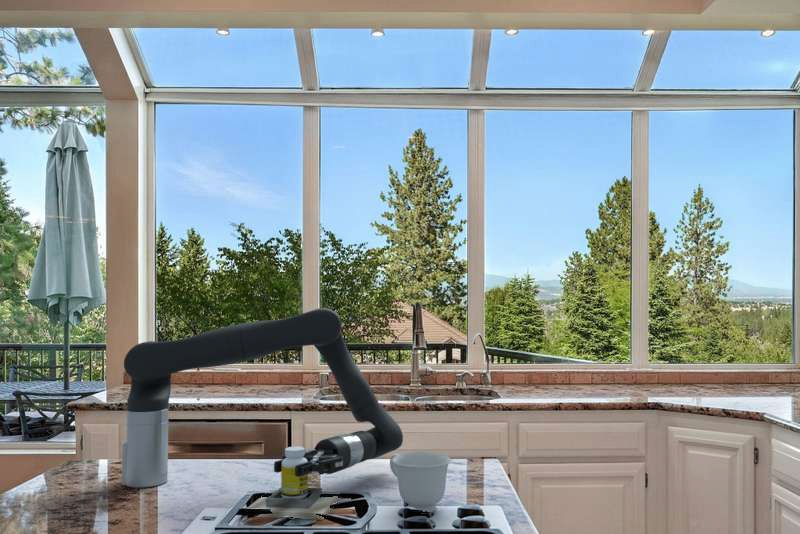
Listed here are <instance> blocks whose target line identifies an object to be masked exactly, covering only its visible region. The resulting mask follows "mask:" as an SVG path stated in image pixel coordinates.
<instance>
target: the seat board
mask: <svg viewBox="0 0 800 534" xmlns="http://www.w3.org/2000/svg"><path fill="white" fill-rule="evenodd" d="M266 493H273V494H272V495H271V496H269V497H262V496H261V498H260V497H259V498H258V499H256V500H255V501H254V502H252V503H251V504H250V505H249V506H247V507H246V508H264V509H271V510H270V511H271V512H272V513H273V514H261V515H258V516H255V517H256V518H272V519H273V518H279V519H281V518H280V517H284V516H291V517H293V518H292V519H295V518H302V520H316V521H317V520H318V521H319V520H320V521H322V520H324V519H325V518H324V517H322V516H319V515H316V514H321V515H322V514H327V515H328V514H329V513H330V512H331V511H332V510H333V508H330V505H331V504H333V503H336V502H338V501H340V500H341V499H339V498H338V496H333V497H321V498H320V495H321V493H337V491H335V492H333V491H330V492H329V491H323V488H321V487H308V494H311V495H310V496H309V497H305V498H302V499H289V498H282V497H281V487H279V488H278V489H270V490H268V491H267V492H266ZM338 503H339V502H338Z"/></svg>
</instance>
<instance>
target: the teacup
mask: <svg viewBox="0 0 800 534" xmlns="http://www.w3.org/2000/svg"><path fill="white" fill-rule="evenodd" d="M451 462H452V459H451V458H450V457H449V456H448V455H445V454H442V453H436V452H426V451H425V452H424V451H422V452H421V451H420V452H419V451H418V452H406V453H402V454H399V453H394V454H392V455H391V457H390V458H389V466H390V467H389V468H390V470H391V472H392V474H393V475H394V476H395V477H396V478H397V483H398V484H397V485H398V491H399V496H400V497H401V500H403V501H404V502H405V503H406V504H408V507H414V508H416V509H419V510H422V511H423V512H425V511H430V513H433V512H435V511H436V510H437V505H436V504H438V503H439V502H440V501H442V500H443V497H444V495H445V492H446V485H447V472H448V468H449V464H450V463H451ZM408 507H407V508H408Z"/></svg>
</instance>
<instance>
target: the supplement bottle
mask: <svg viewBox="0 0 800 534" xmlns="http://www.w3.org/2000/svg"><path fill="white" fill-rule="evenodd" d="M305 451H306V450H305V447H303V446H297V445H296V446H295V445H294V446H288V447H286V448H285V450H284V454H285V456H286V458H285V459H284V460H283V461H282V467H281V472H280V474H281V475H280V477H281V481H280V482H281V483H280V484H281V486H280V488H281V496H282V498H289V499H302V498H305V497H306V496H307V495H308V488H309V485H308V484H309V480H308V479H309V474H306V475H303V476H300V477H298V476H295V466H296V465H299V464H302V463H305V462H308V461H307V459H306V458H304V457H303V456H304V454H305Z"/></svg>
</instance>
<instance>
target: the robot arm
mask: <svg viewBox="0 0 800 534" xmlns="http://www.w3.org/2000/svg"><path fill="white" fill-rule="evenodd" d="M305 346H307V347H308V346H314V347H315V349H316V350H317V351H318V352H319V354H320V355H321V356H322V358H323V359H324V361H325V363H326V365H327V366H328V368H329V370H330V371H331V373H332V375H333V377H334V378H333V379H334V380H335V382H336V384H337V386H338V388H339V390H340V392H341V395H342V397H343V399H344V400H345V403H346V404H347V407H348V409H349V410H350V412H351V414H352V416H353V418H354V419H355V421H356V422H358V423H366V422H369V423H370V424H371V425H372V426H374V427H372V428H369V429H367V430H357V431H354V432H350V433H343V434H338V435H334V436H332V437H327V438H324V439H321V440H319V441H318V442H317V444H316V445H315V446H314V448H310V449H308V450H305V454H304V456H303V457H304V458H306V459H307V461H308V462H305V463H302V464H299V465H296V466H295V476H298V477H300V476H303V475H306V474H308V475H309V474H311V475H315V474H317V473H318V475H325V474H326V475H331V474H332V475H333V474H335V473H338V472H341V471H343V470H346V469H350V468H352V467H354V466H355V465H357V464H361V463H363V462H366V461H368V460H369V461H370V460H373V459H377V458H379V457H382V456H384V455H387V454H389V453H391V452H394V451H396V450H398V449H399V448H401V446H402V445H403V441H404V436H403V431H402V429H401V427H400V425H399V424H398V423H397V422H396V420H395V419H394V418H393V417H392V416H391V415H390V413H388V412H387V410H386V409H385V408H384V407H383V406H382V405H381V404H380V402H379V401H378V398H377V397H376V395H375V393H374V392H373V390H372V387H371V386H370V384H369V383H368V380H367V379H366V377H365V376H364V374H363V373H362V371H361V370H360V368H359V367H358V365H357V364H356V362H355V361H354V359H353V356H351V354H350V351H349V350H348V348H347V345H346V342H345V339H344V338H343V334H342V320H341V318H340V316H339V314H338V313H336V311H334V310H333V309H330V308H328V307H327V308H326V307H320V308H319V307H318V308H316V309H312V310H309V311H307V312H303V313H299V314H296V315H293V316H290V317H285V318H280V319H279V318H278V319H270V320H268V319H267V320H258V321H252V322H244V323H239V324H233V325H228V326H224V327H219V328H216V329H211V330H209V331H204V332H202V333H199V334H195V335H193V336H190V337H187V338H186V337H185V338H181V339H174V340H166V341H165V340H164V341H154V340H151V341H144V342H140V343H138V344H136V345H134V346H132V348H130V349H129V350H128V352H127V353H126V355H125V357H124V360H123V368H124V371H125V373H126V374H127V375H128V376H129V377H130V379H131V380H130V391H129V395H128V397H127V402H126V441H125V442H123V444H122V448H121V449H122V452H121V455H122V457H121V486H127V487H129V488H150V487H156V486H160V485H162V484H165V483H166V482H168V475H169V471H168V467H169V466H168V465H169V464H168V463H169V459H168V458H169V406H170V405H169V404H170V396H171V390H172V389H171V387H172V374H175V373H180V372H182V371H187V370H193V369H203V368H213V367H222V366H229V365H234V364H239V363H243V362H249V361H253V360H257V359H261V358H263V357H267V356H270V355H271V354H275V353H277V352H280V351H284V350H286V349H291V348H292V349H293V348H297V347H305ZM285 458H286V456H285V453H284V454H281V459H279V460H278V459H277V460H275V461H274V463H273V471H274V473H281V467H282V461H283V460H284V459H285Z"/></svg>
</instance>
